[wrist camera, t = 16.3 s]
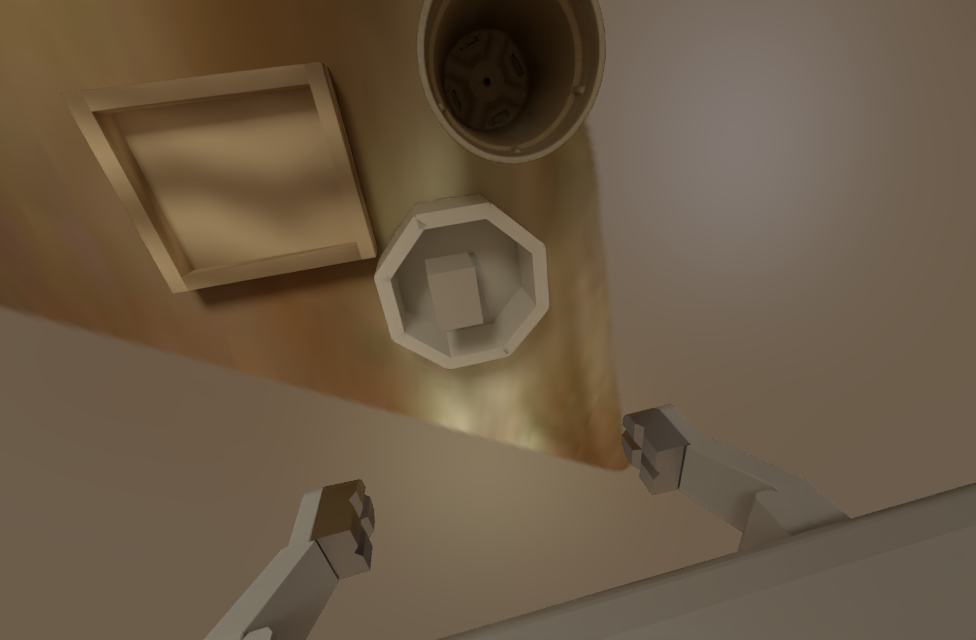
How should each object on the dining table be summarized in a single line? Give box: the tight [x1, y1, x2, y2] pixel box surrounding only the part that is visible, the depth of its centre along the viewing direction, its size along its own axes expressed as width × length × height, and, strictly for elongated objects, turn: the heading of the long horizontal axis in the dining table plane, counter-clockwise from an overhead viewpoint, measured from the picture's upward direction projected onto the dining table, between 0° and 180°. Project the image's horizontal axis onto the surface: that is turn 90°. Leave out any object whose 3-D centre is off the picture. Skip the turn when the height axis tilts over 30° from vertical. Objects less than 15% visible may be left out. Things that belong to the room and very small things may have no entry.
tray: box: [60, 62, 378, 293], centre depth 25 cm, size 12×14×2 cm
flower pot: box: [417, 0, 606, 164], centre depth 22 cm, size 9×9×9 cm
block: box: [425, 252, 483, 332], centre depth 25 cm, size 4×3×4 cm
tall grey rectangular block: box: [468, 253, 489, 316], centre depth 29 cm, size 4×3×4 cm
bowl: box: [374, 194, 549, 370], centre depth 29 cm, size 12×12×5 cm
